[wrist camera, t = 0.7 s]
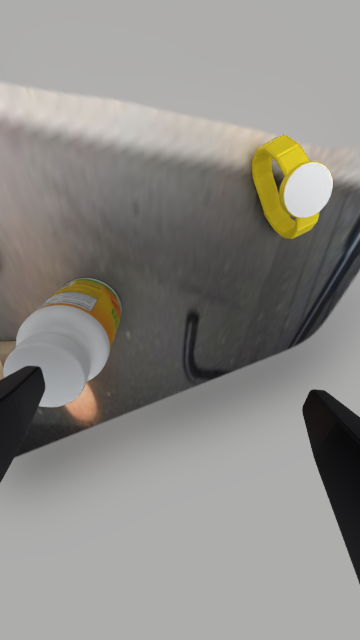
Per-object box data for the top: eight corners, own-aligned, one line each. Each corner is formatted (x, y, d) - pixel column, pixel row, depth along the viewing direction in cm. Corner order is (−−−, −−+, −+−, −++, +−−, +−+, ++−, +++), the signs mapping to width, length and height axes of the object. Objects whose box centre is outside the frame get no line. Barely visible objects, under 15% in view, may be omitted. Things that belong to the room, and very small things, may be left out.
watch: (293, 219, 20) (342, 232, 15) (260, 236, 21) (297, 254, 16) (272, 136, 18) (324, 118, 12) (235, 157, 18) (270, 148, 13)
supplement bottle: (118, 339, 23) (94, 423, 15) (56, 329, 23) (-10, 412, 14) (126, 283, 21) (104, 341, 12) (58, 270, 20) (-18, 322, 12)
